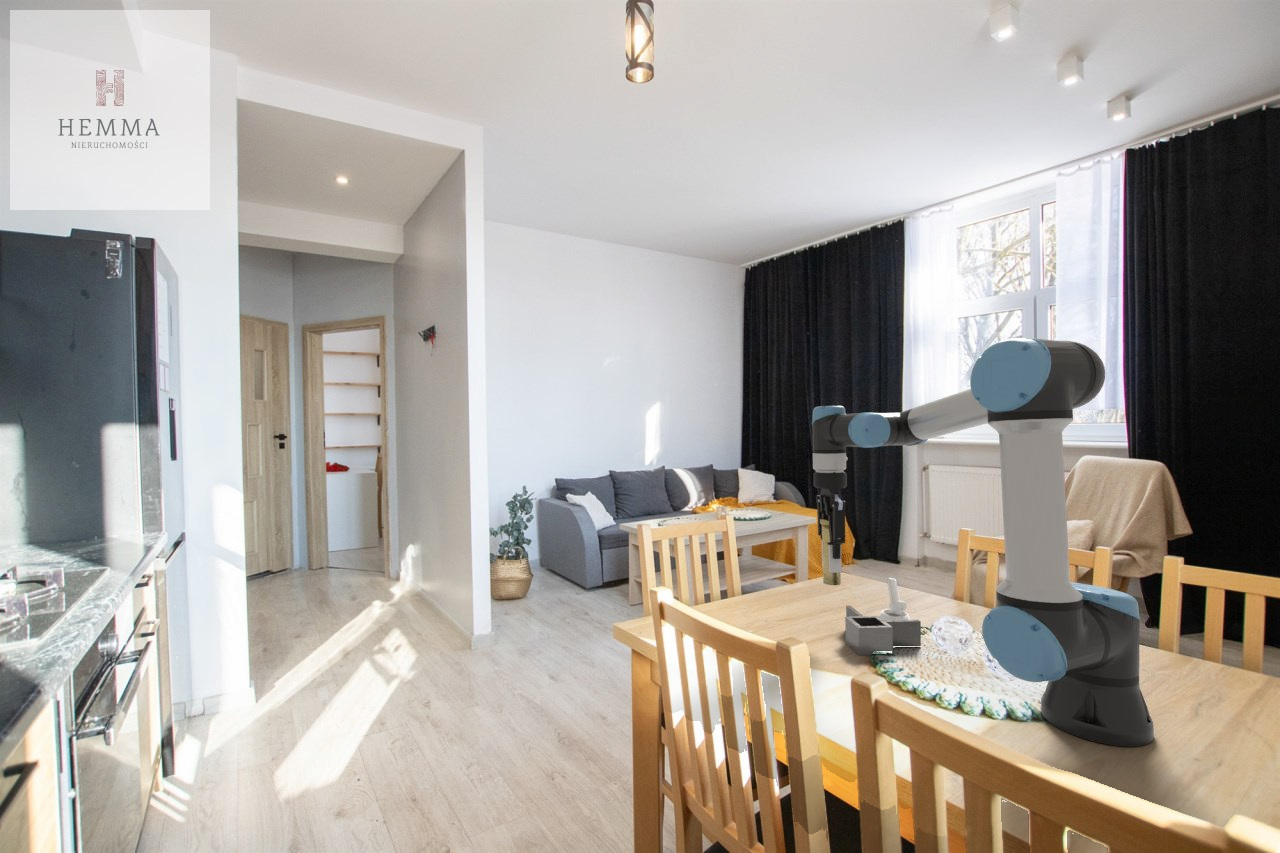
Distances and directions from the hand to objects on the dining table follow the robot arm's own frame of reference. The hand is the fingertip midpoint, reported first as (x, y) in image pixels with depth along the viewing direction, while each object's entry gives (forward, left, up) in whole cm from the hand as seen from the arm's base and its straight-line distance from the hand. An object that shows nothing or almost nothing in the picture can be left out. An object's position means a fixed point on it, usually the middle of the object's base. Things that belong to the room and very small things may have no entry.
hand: (831, 569), depth 141 cm
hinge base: (-3, -10, -16) cm, 19 cm away
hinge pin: (0, 0, -3) cm, 3 cm away
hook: (+12, -21, -17) cm, 29 cm away
